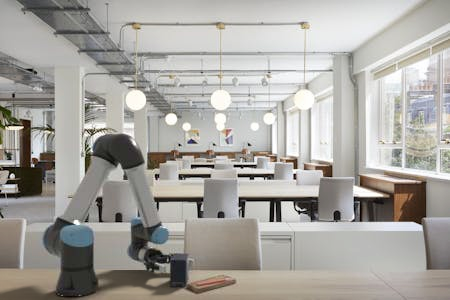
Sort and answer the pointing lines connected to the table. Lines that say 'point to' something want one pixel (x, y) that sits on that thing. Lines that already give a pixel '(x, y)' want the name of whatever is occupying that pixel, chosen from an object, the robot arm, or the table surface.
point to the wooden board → (203, 288)
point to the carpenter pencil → (212, 282)
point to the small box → (179, 270)
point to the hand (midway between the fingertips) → (179, 266)
